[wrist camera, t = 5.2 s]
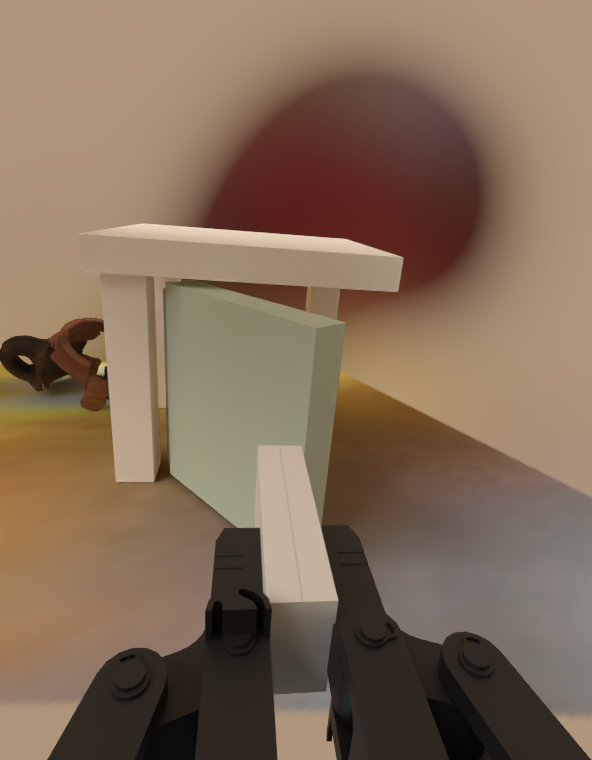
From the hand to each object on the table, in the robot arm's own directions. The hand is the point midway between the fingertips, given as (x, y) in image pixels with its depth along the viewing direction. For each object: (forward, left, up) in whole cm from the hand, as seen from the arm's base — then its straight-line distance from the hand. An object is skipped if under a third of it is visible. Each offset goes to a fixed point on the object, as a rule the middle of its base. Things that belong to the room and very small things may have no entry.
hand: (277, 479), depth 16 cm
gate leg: (-2, +10, -9) cm, 14 cm away
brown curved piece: (-17, +28, -10) cm, 34 cm away
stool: (-1, +21, -9) cm, 23 cm away
